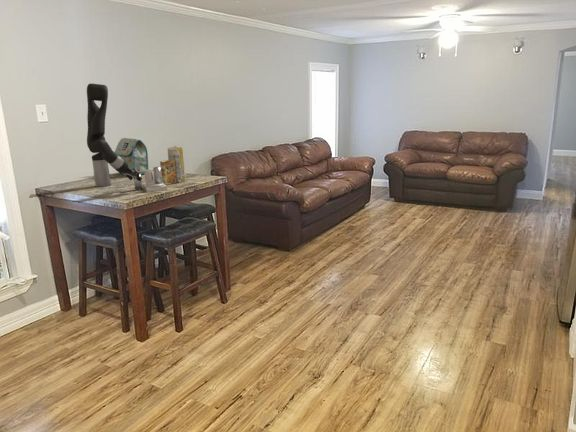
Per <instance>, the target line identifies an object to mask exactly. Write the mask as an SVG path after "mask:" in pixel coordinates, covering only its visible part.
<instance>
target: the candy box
mask: <svg viewBox="0 0 576 432" xmlns="http://www.w3.org/2000/svg"><path fill="white" fill-rule="evenodd" d="M159 164H160V165H159V167H161V177H162V183H164V184H165V185H166V186H167V185H172V184H176V183H178V182H176V172H175V163H174V160H168V159H167V160H163V161H159Z"/></svg>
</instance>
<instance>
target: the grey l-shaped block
mask: <svg viewBox="0 0 576 432" xmlns="http://www.w3.org/2000/svg"><path fill="white" fill-rule="evenodd" d="M144 173H145V174H144ZM144 173H143V174H144V181H145V183H142V190H144V191H145V192H146V193H153V192H160V191H161V192H162V191H167V190H168V187H167V185H165V184H164V183H161V184H155V180H154V171H153V168H152V169H149V170H144Z"/></svg>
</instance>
